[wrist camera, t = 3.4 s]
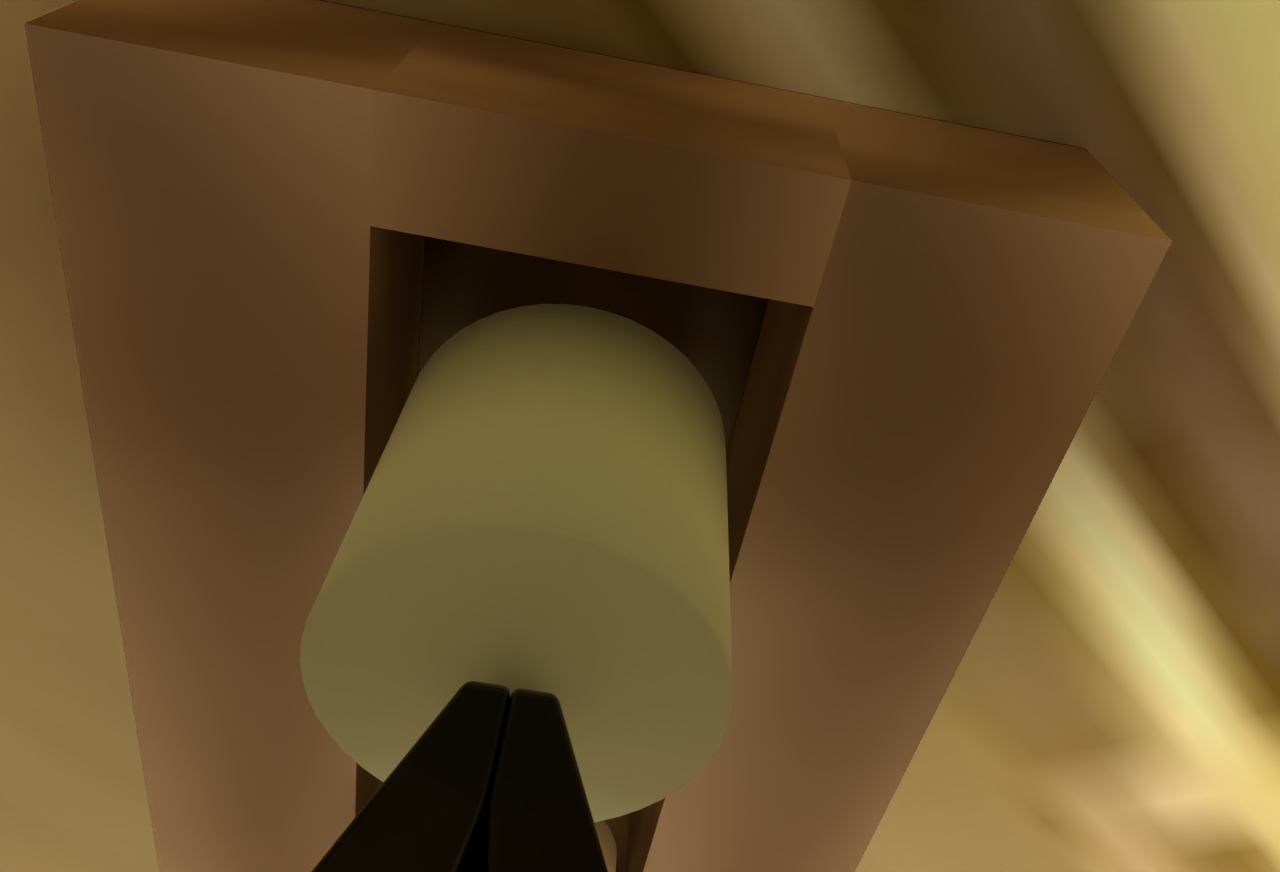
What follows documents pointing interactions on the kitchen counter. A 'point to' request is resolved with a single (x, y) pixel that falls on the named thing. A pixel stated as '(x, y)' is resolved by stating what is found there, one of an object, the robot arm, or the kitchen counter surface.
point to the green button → (541, 554)
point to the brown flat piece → (576, 233)
